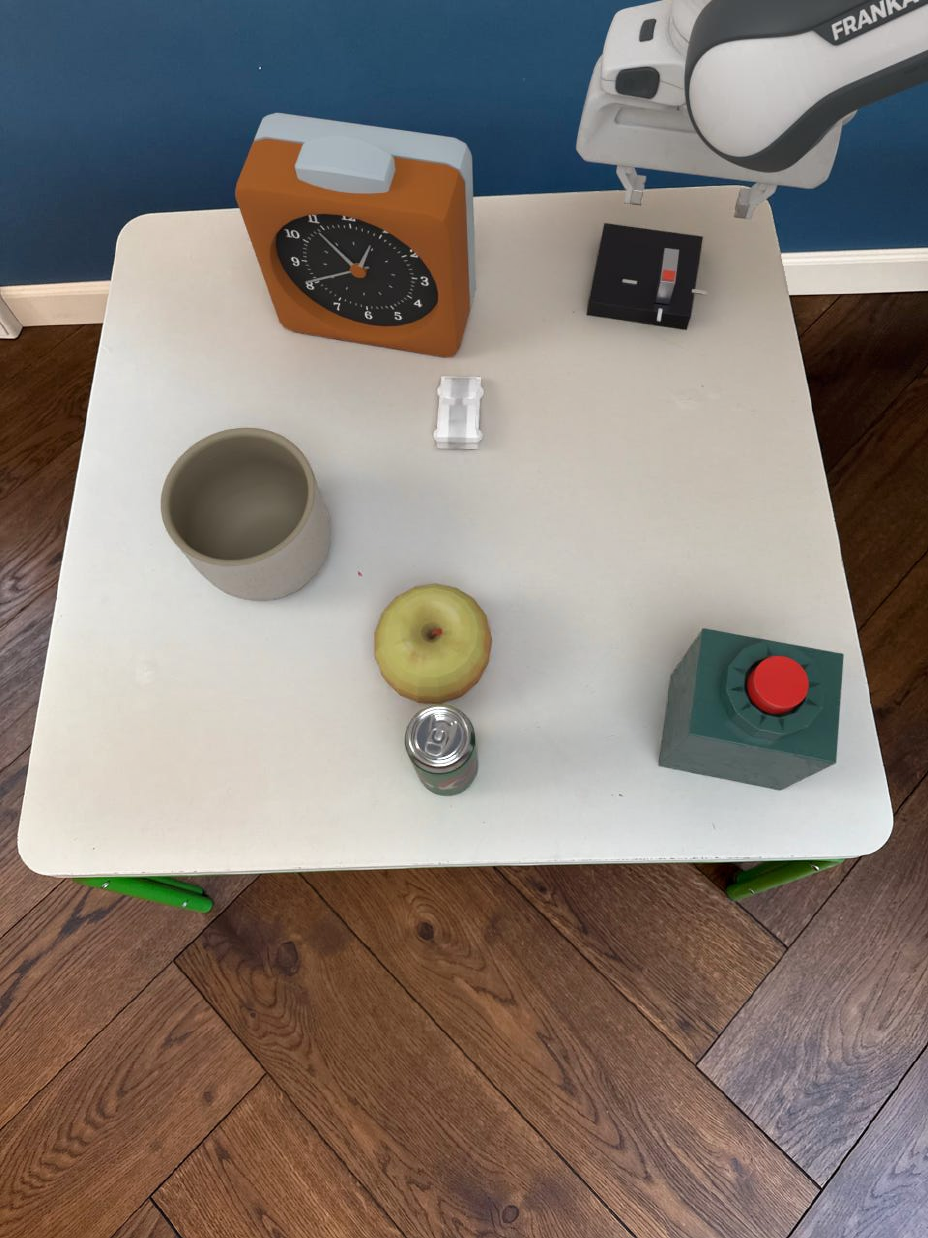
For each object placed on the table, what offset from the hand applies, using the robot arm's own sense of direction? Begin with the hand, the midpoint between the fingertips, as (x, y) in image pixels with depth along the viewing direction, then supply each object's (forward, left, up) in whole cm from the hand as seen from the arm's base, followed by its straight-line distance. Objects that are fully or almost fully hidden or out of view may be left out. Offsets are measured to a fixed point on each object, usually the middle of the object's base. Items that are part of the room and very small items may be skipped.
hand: (687, 206), depth 76 cm
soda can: (+11, +50, -13) cm, 53 cm away
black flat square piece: (+2, -2, -12) cm, 13 cm away
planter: (+31, +34, -13) cm, 48 cm away
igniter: (-11, +42, -12) cm, 45 cm away
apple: (+14, +41, -13) cm, 45 cm away
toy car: (+17, +17, -13) cm, 27 cm away
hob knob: (0, 0, -10) cm, 10 cm away
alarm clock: (+28, +6, -13) cm, 31 cm away
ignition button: (-11, +42, +1) cm, 44 cm away
